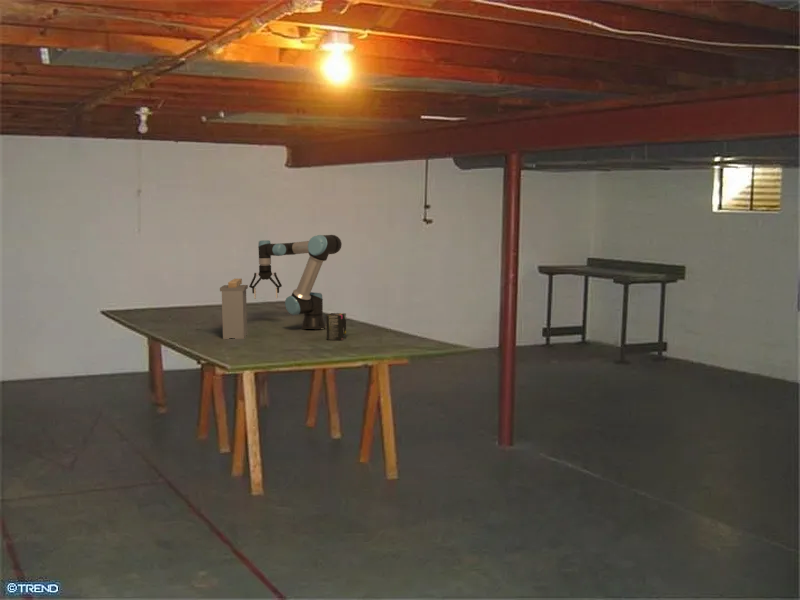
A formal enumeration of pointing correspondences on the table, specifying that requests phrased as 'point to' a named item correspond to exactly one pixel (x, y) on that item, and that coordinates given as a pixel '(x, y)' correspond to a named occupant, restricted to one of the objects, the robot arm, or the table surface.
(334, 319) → the tampon box
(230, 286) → the birch strip
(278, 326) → the table surface
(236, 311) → the grey stand
